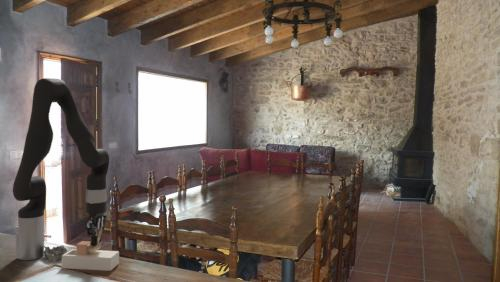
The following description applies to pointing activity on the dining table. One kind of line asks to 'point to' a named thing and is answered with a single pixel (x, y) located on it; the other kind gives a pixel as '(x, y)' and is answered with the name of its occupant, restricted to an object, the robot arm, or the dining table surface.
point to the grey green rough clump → (55, 253)
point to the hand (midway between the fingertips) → (96, 243)
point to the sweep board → (91, 260)
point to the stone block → (82, 248)
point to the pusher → (94, 248)
